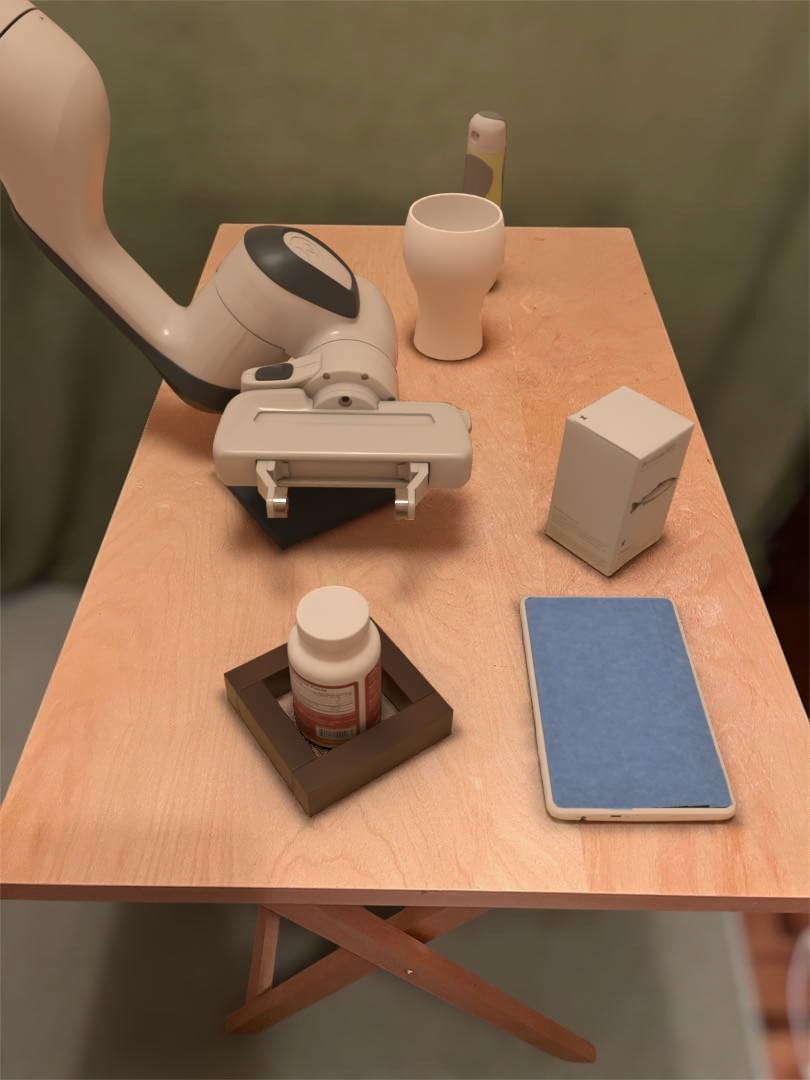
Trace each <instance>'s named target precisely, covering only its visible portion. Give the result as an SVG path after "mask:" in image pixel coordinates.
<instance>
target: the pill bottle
mask: <svg viewBox="0 0 810 1080" xmlns="http://www.w3.org/2000/svg"><path fill="white" fill-rule="evenodd" d="M370 612H371V611H370V607H369V604H368V602H367V600H366V598H365V597H364V596H363V594H361V593H360V592H358V591H357V590H355V589H353V588H351V587H348V586H345V585H337V584H336V585H335V584H334V585H325V586H320V587H318V588H315V589H312V590H311V591H309V592H307V594H305V595H304V596H303V597H302V598H301V599H300V601H299V603H298V604H297V606H296V610H295V624H294V626H293V627H292V629H291V631H290V633H289V635H288V639H287V642H288V645H287V649H288V661H289V670H290V678H291V687H292V690H291V695H292V705H293V713H294V718H295V723H296V725H297V728H298V730H299V732H300V733H301V734H302V735H303V737H304V738H306V739H307V740H309V741H311V742H312V743H313V744H316V745H317V746H321V747H324V748H328V749H334V748H335V747H337V746H339V745H341V744H343V743H344V742H346V741H348V740H350V739H351V738H353V737H355V736H357V735H359V734H360V733H362V732H364V731H366V730H367V729H369V728H371V727H373V726H375V725H376V724H378V723H380V722H379V721H380V720H381V714H382V690H381V641H380V636H379V632H378V630H377V628H376V626H375V625H374V623H373V622H372V621H371V620H370V616H371V614H370Z"/></svg>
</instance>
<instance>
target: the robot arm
mask: <svg viewBox="0 0 810 1080" xmlns="http://www.w3.org/2000/svg"><path fill="white" fill-rule="evenodd" d="M109 103H110V102H109V97H108V93H107V90H106V87H105V84H104V81H103V78H102V76H101V73H100V71H99V69H98V68H97V65H96V64H95V63H94V62H93V60H92V59H91V57H90V56H89V55H88V54H87V52H86V51H85V50H84V49H83V48H82V47H81V46H80V45H79V44H78V42H76V41H75V40H74V39H73V38H72V37H71V36H70V34H68V33H67V32H66V31H64V30H63V28H61V26H60V25H58V24H57V23H56V22H54V21H53V20H52V19H51V18H50V17H49V16H48V15H47V14H45V13H44V12H43V11H42V10H40V9H39V8H38V7H37V6H36V5H35V4H34V3H32V2H31V1H30V0H0V181H1V182H2V184H3V186H4V188H5V189H6V192H7V194H8V196H9V199H10V209H11V214H12V216H13V218H14V220H15V222H16V223H17V226H19V228H20V229H21V230H22V232H23V233H24V234H25V235H26V237H27V238H28V239H29V240H30V241H31V242H32V243H33V245H35V247H36V248H37V249H38V250H39V251H40V252H41V253H42V254H43V255H44V256H45V257H46V258H47V259H48V260H49V261H50V262H51V263H52V264H53V266H54V267H55V268H56V269H57V270H58V271H59V272H60V273H62V275H63V276H64V277H65V278H67V280H68V281H69V282H70V283H71V284H73V286H75V288H77V290H79V292H80V293H82V295H84V297H86V298H87V300H89V301H90V302H91V303H92V304H93V306H95V307H96V308H97V310H99V311H100V312H101V313H102V314H103V315H104V316H105V317H106V318H107V319H108V320H109V322H111V323H112V324H113V325H114V326H115V327H116V328H117V329H118V330H119V331H120V332H121V333H122V334H123V335H124V336H125V337H126V338H127V339H128V340H129V341H130V342H131V343H132V344H133V345H134V346H135V347H136V348H137V349H138V350H139V351H140V352H141V353H142V354H143V356H144V357H146V359H147V360H148V361H149V362H150V363H151V365H152V366H153V367H154V369H155V370H156V371H157V372H158V374H159V375H160V376H161V379H163V381H164V382H165V383H166V384H167V386H168V387H169V389H171V391H172V392H173V393H174V394H175V395H176V396H177V397H178V398H179V399H180V400H181V401H182V402H183V403H185V404H186V405H187V406H189V407H190V408H193V409H194V410H196V411H200V412H202V413H206V414H212V415H221V416H220V419H219V422H218V425H217V427H216V431H215V433H214V438H213V442H212V458H213V459H212V460H213V465H214V466H213V467H214V469H215V470H214V471H215V475H216V477H217V479H218V480H219V481H220V482H221V483H222V484H223V485H225V486H226V485H227V486H258V492H259V493H260V494H261V496H262V497H263V498H264V499H265V501H266V506H267V516H268V518H288V510H289V498H288V487H353V488H395V501H394V520H410V521H411V520H413V521H414V520H415V516H416V515H415V514H416V513H415V510H416V509H415V508H416V507H417V505H418V504H419V503H420V502H422V500H423V499H424V498H425V496H427V494H428V489H431V490H432V489H435V490H436V489H438V490H441V489H442V490H443V489H445V490H457V489H462V488H463V487H464V486H465V485H467V483H468V482H470V480H471V477H472V470H473V459H474V458H473V457H474V449H473V443H472V439H471V433H472V431H473V424H472V417H471V415H470V413H469V411H468V410H467V409H463V408H461V407H457V406H455V405H453V403H451V402H448V401H447V402H446V401H418V400H417V401H415V400H414V401H411V400H410V401H409V400H408V401H406V400H400V389H399V388H400V387H399V385H400V383H399V374H398V370H397V366H398V362H399V339H398V337H399V336H398V331H397V324H396V320H395V316H394V314H393V311H392V308H391V306H390V303H389V302H388V299H387V298H386V296H385V294H384V293H383V292H382V290H381V289H380V288H379V287H378V286H377V285H376V284H375V283H373V282H372V281H371V280H369V279H368V278H366V277H364V276H362V275H359V274H357V273H356V274H355V273H354V272H353V271H352V269H351V268H350V266H349V265H348V264H347V263H346V262H345V261H344V260H343V259H342V258H341V257H340V256H339V255H338V254H337V252H336V251H334V250H333V249H332V248H331V247H329V245H327V244H326V243H325V242H324V241H322V240H320V239H319V238H317V237H316V236H314V235H313V234H311V233H309V232H308V231H306V230H304V229H300V228H296V227H291V226H285V225H275V224H266V225H265V224H264V225H258V226H253V227H251V228H249V229H247V230H246V231H245V232H244V234H243V235H242V237H240V239H239V240H238V241H237V242H236V243H235V245H234V246H233V247H232V249H231V250H229V252H228V253H227V255H226V256H225V257H224V259H222V261H221V262H220V263H219V265H218V266H217V268H216V269H215V271H214V273H213V274H212V275H211V277H210V278H209V279H208V281H207V282H206V283H205V285H204V286H203V287H202V288H201V290H199V292H198V293H197V295H196V296H195V297H194V298H193V300H192V301H190V303H189V305H188V306H182V305H180V304H178V303H177V302H176V301H175V300H173V298H172V297H171V296H170V295H169V294H168V293H167V292H166V291H165V290H164V289H163V288H162V287H161V286H160V285H159V284H158V283H157V282H156V281H155V279H154V278H152V277H151V276H150V275H149V274H148V273H147V272H146V270H145V269H143V267H142V266H141V265H140V264H139V263H138V262H137V261H136V260H135V259H134V258H133V257H132V256H131V255H130V254H129V253H128V252H127V251H126V250H125V249H124V248H123V247H122V245H121V244H120V243H119V242H118V241H117V240H116V238H115V237H114V235H113V234H112V232H111V229H110V227H109V224H108V222H107V219H106V214H105V210H104V183H105V182H104V180H105V174H106V173H105V172H106V166H107V160H108V156H109V155H108V154H109V150H110V142H111V125H112V124H111V111H110V104H109ZM291 358H292V359H291ZM227 486H226V487H227Z"/></svg>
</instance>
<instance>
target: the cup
mask: <svg viewBox="0 0 810 1080" xmlns="http://www.w3.org/2000/svg"><path fill="white" fill-rule="evenodd" d="M505 227H506V226H505V219H504V214H503V211H502V208H501V209H500V208H499V207H498V206H497V205H496V204H495V203H493V202H491V201H489V200H487V199H485V198H482V197H478V196H475V195H469V194H463V193H462V192H461V193H457V192H446V193H445V192H444V193H436V194H430V195H428V196H424V197H422V198H418V199H417V200H416V201H414V202H413V203H412V205H411V206H410V207H409V210H408V213H407V217H406V221H405V225H404V227H403V228H404V229H403V234H402V258H403V261H404V264H405V269H406V273H407V276H408V278H409V281H410V282H411V284H412V286H413V288H414V290H415V292H416V297H417V306H418V315H417V318H416V319H417V320H416V323H415V328H414V335H413V341H412V342H413V345H414V347H415V348H416V350H417V351H419V352H420V353H421V354H423V355H424V356H426V357H429V358H432V359H437V360H441V361H459V360H465V359H469V358H470V357H473V356H475V355H476V354H477V353H479V352H480V351H481V350H482V348H483V325H482V317H481V315H482V310H483V306H484V302H485V297H486V296H487V294H488V293H489V291H490V290H491V289H492V288H493V287H492V285H493V284H494V282H495V283H496V281H497V278H498V276H499V274H500V271H501V269H502V265H503V264H504V261H505V253H506V246H507V245H506V243H507V235H506V234H507V233H506V228H505ZM495 280H496V281H495ZM494 285H495V284H494ZM491 287H492V288H491Z"/></svg>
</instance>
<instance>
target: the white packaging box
mask: <svg viewBox="0 0 810 1080" xmlns="http://www.w3.org/2000/svg"><path fill="white" fill-rule="evenodd" d="M695 426H696V423H695V422H694V421H692V420H690V419H688V418H686V417H685V416H683V415H682V414H679V413H677V412H675V411H673V410H672V409H670V408H668V407H667V406H664V405H662V404H661V403H659V402H657V401H655V400H653V399H651V398H650V397H647V396H645V395H643V394H641V393H640V392H638V391H636V390H635V389H633V388H631V387H629V386H627V385H625V384H624V385H621V386H619V387H617V388H616V389H613V390H612V391H611V392H608V393H606V394H605V395H603V396H602V397H600V398H598V399H597V400H594V401H592V402H591V403H590V404H588V405H585V406H584V407H583V408H581V409H579V410H577V411H576V412H574V413H572V414H571V415H568V416H567V417H566V420H565V425H564V430H563V436H562V441H561V446H560V447H561V448H560V452H559V457H558V462H557V467H556V472H555V478H554V483H553V488H552V489H553V490H552V494H551V499H550V505H549V511H548V516H547V521H546V527H545V531H544V533H545V534H546V535H547V536H549V537H550V538H551V539H553V540H554V541H555V542H556V543H558V544H559V545H561V546H563V547H564V548H565V549H566V550H568V551H570V552H571V553H573V554H574V555H575V556H576V557H578V558H579V559H581V560H583V561H584V562H585V563H587V564H588V565H589V566H591V567H593V569H595V570H597V572H600V573H601V574H603V575H604V576H606V577H610V576H612V575H613V574H614V573H615V572H617V570H619V569H620V568H621V567H623V566H624V565H626V564H627V563H628V562H630V560H632V559H633V558H634V557H636V556H637V555H639V554H641V553H642V552H643V551H645V550H646V549H647V548H649V547H650V546H652V545H653V544H655V543H657V542H658V541H659V540H661V537H662V534H663V530H664V527H665V524H666V521H667V517H668V515H669V513H670V508H671V505H672V501H673V498H674V495H675V492H676V489H677V487H678V486H677V485H678V483H679V479H680V475H681V471H682V469H683V465H684V461H685V459H686V455H687V453H688V450H689V449H688V448H689V446H690V443H691V439H692V436H693V432H694V430H695V429H694V428H695Z"/></svg>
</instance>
